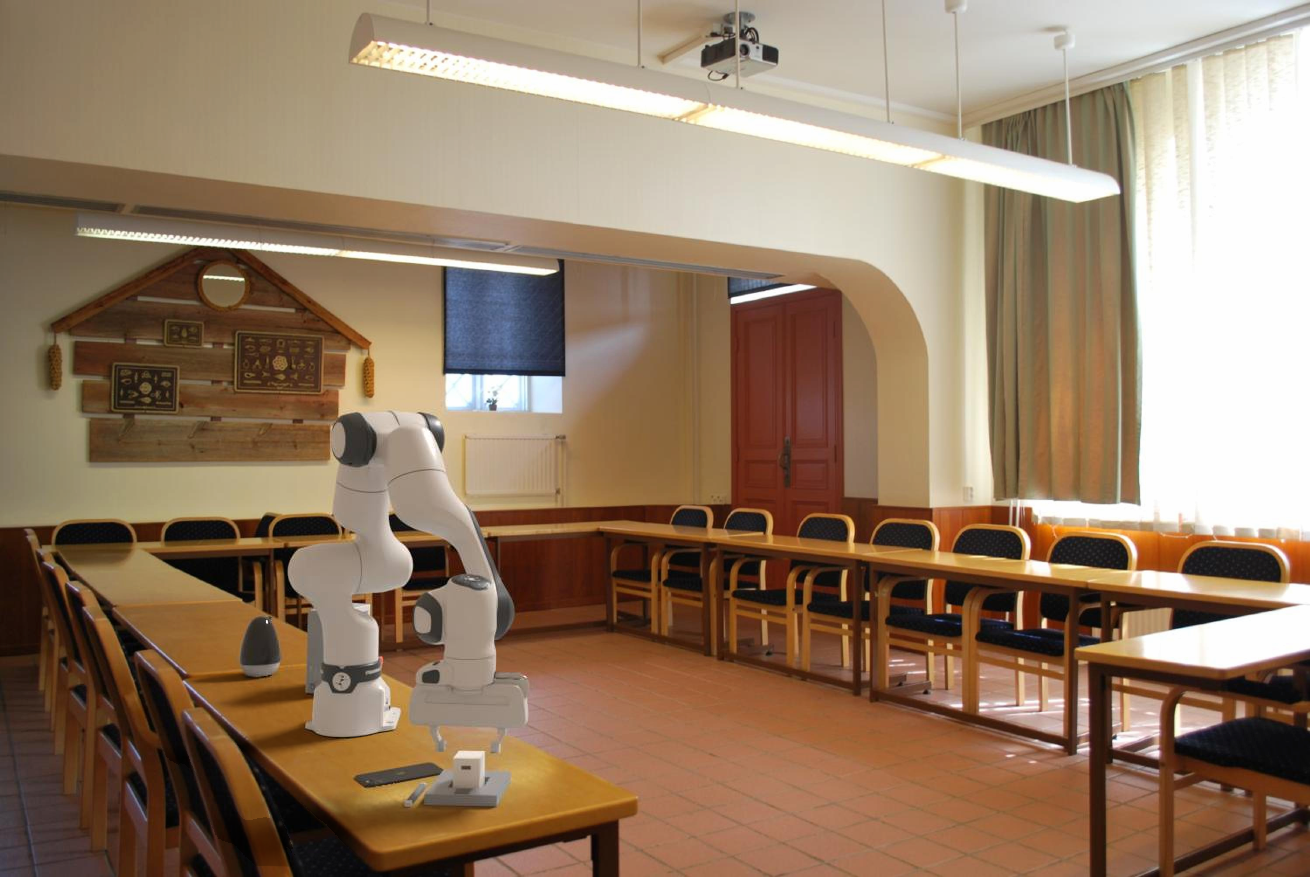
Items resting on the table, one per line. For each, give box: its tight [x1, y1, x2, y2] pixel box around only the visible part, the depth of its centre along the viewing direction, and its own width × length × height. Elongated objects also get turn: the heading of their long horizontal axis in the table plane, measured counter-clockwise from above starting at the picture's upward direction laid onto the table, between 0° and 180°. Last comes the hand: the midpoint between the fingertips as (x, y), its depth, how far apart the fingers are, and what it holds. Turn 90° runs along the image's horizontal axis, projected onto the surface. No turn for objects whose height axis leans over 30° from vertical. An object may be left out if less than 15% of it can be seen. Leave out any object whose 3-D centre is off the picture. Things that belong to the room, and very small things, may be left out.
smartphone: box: [354, 761, 445, 788], centre depth 187 cm, size 7×1×15 cm
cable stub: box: [403, 782, 428, 808], centre depth 176 cm, size 10×1×1 cm, turn 178°
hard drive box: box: [305, 602, 371, 695], centre depth 254 cm, size 16×8×20 cm, turn 161°
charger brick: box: [452, 750, 486, 788], centre depth 178 cm, size 5×4×6 cm
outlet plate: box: [423, 769, 512, 807], centre depth 178 cm, size 13×12×2 cm
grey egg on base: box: [238, 615, 282, 678], centre depth 268 cm, size 10×10×15 cm
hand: (468, 751), depth 178 cm, fingers open, 8 cm apart
